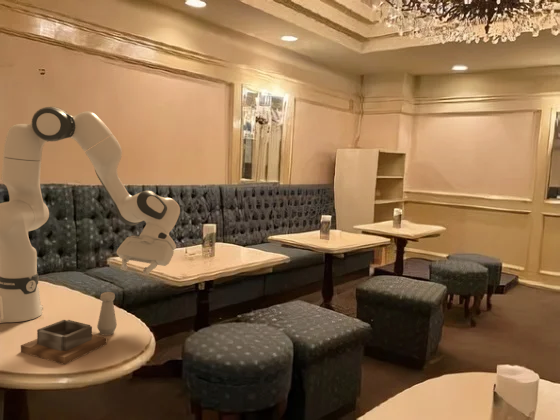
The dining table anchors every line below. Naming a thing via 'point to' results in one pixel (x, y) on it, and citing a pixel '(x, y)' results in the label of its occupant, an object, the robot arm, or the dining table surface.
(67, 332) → the walnut socket board
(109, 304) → the beige round peg
